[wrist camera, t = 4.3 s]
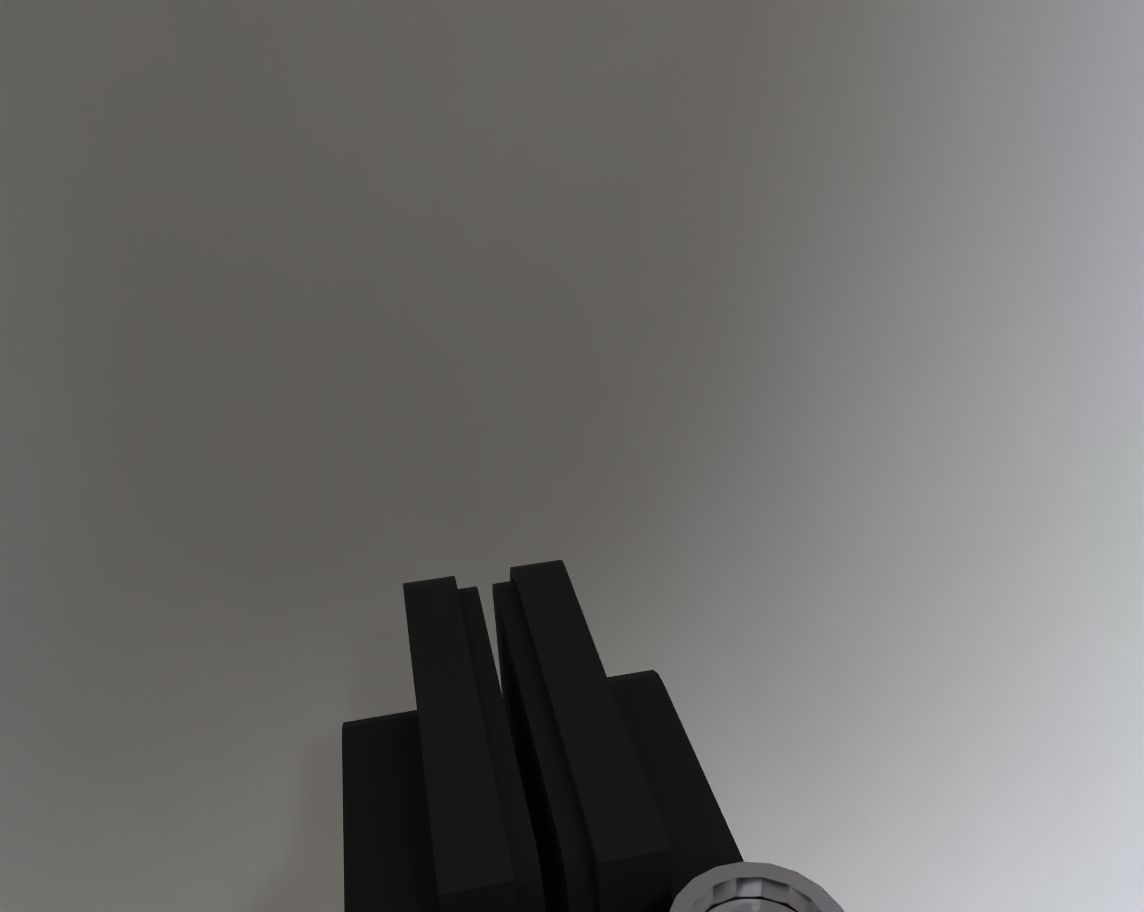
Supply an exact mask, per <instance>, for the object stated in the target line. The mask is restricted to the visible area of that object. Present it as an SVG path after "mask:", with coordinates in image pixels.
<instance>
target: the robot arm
mask: <svg viewBox="0 0 1144 912" xmlns="http://www.w3.org/2000/svg"><path fill="white" fill-rule="evenodd" d="M403 589H404V598H405V607H406V615H407V624H408V633H409V642H410V651H411V660H412V668H413V677H414V686H415V695H416V704H417V710H414V711H408V712H402V713H397V714H391V715H385V716H379V717H373V718H367V719H361V720H356V721H350V722H344V723H343V727H342V767H343V836H344V905H345V912H844V911H843V909H842V908H841V907H840V905H839V904H838V903H837V902H836V901H835V900H834V899H833V898H832V897H831V896H830V895H829V894H828V893H827V892H826V891H825V890H824V889H823V888H822V887H821V886H819V885H818V884H816V883H814V882H813V881H811V880H809V879H808V878H806V877H804V876H803V875H801V874H799V873H798V872H796V871H792V870H789V869H786V868H783V867H780V866H776V865H773V864H770V863H755V862H744V861H743V859H742V856H741V854H740V852H739V850H738V848H737V845H736V843H735V841H734V839H733V837H732V834H731V832H730V830H729V828H728V825H727V823H726V821H725V819H724V817H723V814H722V812H721V810H720V808H719V806H718V803H717V801H716V799H715V797H714V794H713V792H712V790H711V788H710V786H709V783H708V781H707V779H706V777H705V775H704V772H703V770H702V768H701V766H700V763H699V761H698V759H697V757H696V755H695V752H694V750H693V748H692V746H691V743H690V741H689V739H688V737H687V735H686V732H685V730H684V728H683V726H682V724H681V721H680V719H679V717H678V715H677V712H676V710H675V708H674V706H673V704H672V701H671V699H670V697H669V695H668V693H667V690H666V688H665V686H664V684H663V682H662V680H661V678H660V676H659V675H658V673H657V672H655V671H654V670H649V671H643V672H637V673H631V674H625V675H619V676H613V677H608V678H607V676H606V674H605V671H604V668H603V666H602V663H601V660H600V658H599V655H598V652H597V650H596V647H595V645H594V642H593V639H592V637H591V634H590V631H589V629H588V626H587V623H586V621H585V618H584V615H583V613H582V610H581V608H580V605H579V602H578V600H577V597H576V594H575V592H574V589H573V586H572V584H571V581H570V578H569V576H568V573H567V570H566V568H565V565H564V563H563V561H562V560H557V561H550V562H543V563H537V564H530V565H523V566H517V567H511V569H510V581H509V582H502V583H496V584H493V601H494V611H495V622H496V633H497V643H498V654H499V664H500V675H501V686H502V693H501V689H500V685H499V680H498V676H497V671H496V667H495V663H494V658H493V654H492V650H491V645H490V641H489V636H488V632H487V628H486V623H485V619H484V615H483V610H482V606H481V601H480V597H479V593H478V589H477V587H470V588H463V589H457V585H456V580H455V576H450V577H444V578H437V579H430V580H424V581H417V582H410V583H404V584H403ZM502 696H503V698H502Z"/></svg>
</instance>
